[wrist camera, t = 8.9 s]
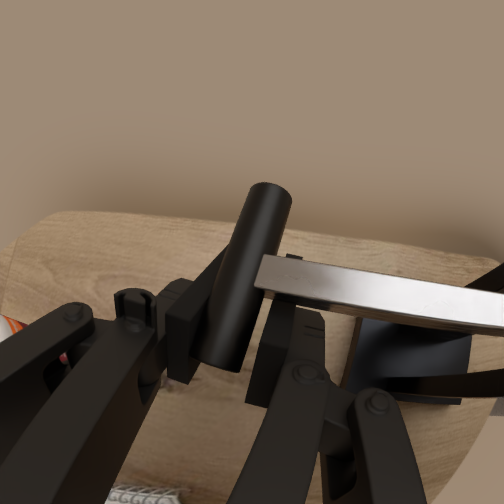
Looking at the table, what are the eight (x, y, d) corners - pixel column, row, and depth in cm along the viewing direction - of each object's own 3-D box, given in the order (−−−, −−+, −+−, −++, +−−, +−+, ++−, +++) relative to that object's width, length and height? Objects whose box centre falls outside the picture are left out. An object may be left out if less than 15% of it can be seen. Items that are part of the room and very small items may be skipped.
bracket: (338, 391, 16) (523, 418, 2) (358, 306, 18) (510, 169, 4) (450, 404, 14) (610, 391, 1) (462, 331, 16) (608, 260, 3)
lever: (207, 361, 9) (170, 351, 7) (259, 212, 11) (241, 172, 9) (551, 404, 3) (587, 399, 1) (555, 265, 6) (583, 239, 4)
